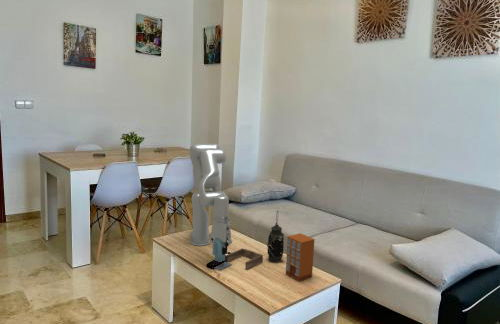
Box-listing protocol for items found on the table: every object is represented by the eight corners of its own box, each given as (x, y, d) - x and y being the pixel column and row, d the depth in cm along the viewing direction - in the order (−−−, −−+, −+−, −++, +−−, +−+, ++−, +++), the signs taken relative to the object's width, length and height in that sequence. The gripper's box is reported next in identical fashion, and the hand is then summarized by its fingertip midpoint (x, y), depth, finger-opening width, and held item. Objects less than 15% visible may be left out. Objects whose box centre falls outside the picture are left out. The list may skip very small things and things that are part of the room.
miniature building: (284, 274, 194) (286, 236, 191) (297, 270, 199) (300, 233, 196) (298, 282, 186) (300, 242, 183) (311, 277, 192) (314, 239, 188)
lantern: (281, 264, 206) (284, 213, 201) (265, 262, 207) (267, 212, 203) (283, 257, 215) (286, 209, 211) (267, 255, 217) (270, 207, 212)
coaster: (207, 265, 201) (207, 264, 201) (219, 260, 208) (219, 259, 208) (220, 270, 195) (220, 269, 195) (231, 265, 202) (231, 264, 202)
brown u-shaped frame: (226, 262, 206) (226, 255, 205) (242, 254, 216) (243, 248, 216) (247, 270, 197) (247, 262, 196) (263, 262, 208) (263, 255, 207)
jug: (219, 256, 205) (220, 234, 203) (227, 259, 201) (228, 237, 199) (209, 260, 198) (209, 238, 197) (217, 264, 195) (217, 241, 193)
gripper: (238, 221, 195) (237, 254, 198) (214, 214, 206) (213, 246, 208) (228, 224, 189) (227, 259, 192) (203, 217, 200) (203, 250, 203)
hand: (220, 252), depth 200 cm, fingers closed on jug, 5 cm apart
